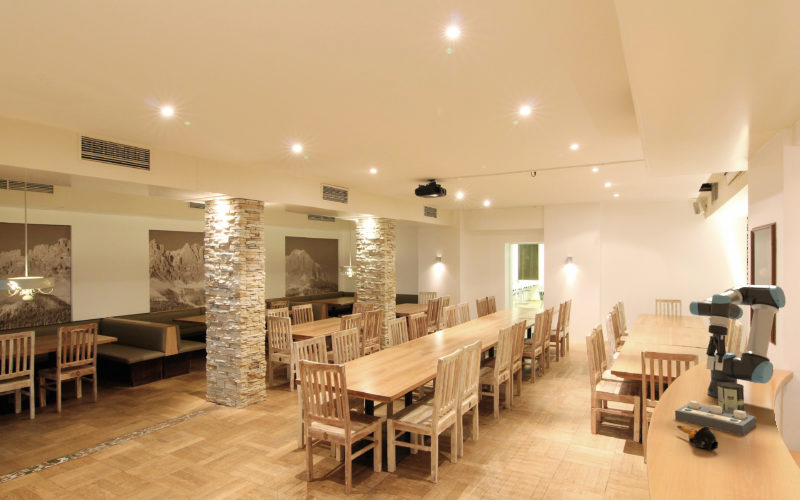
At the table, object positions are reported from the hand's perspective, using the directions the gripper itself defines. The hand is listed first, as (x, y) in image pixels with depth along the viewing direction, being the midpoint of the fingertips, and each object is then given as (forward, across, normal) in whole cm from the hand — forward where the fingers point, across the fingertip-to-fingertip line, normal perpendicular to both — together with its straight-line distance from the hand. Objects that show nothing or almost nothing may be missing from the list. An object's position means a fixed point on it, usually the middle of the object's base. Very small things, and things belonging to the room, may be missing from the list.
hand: (714, 369), depth 214 cm
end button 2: (+21, +9, +9) cm, 25 cm away
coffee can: (+19, -9, +11) cm, 24 cm away
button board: (+24, +6, +1) cm, 25 cm away
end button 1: (+22, 0, -6) cm, 23 cm away
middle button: (+22, +5, +2) cm, 22 cm away
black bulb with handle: (+32, +35, -13) cm, 50 cm away
